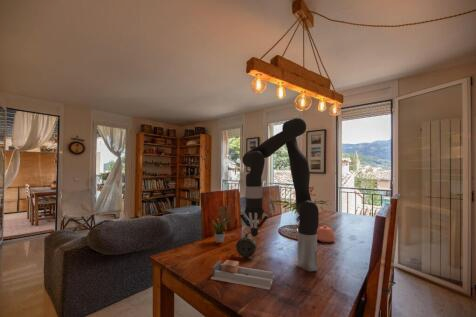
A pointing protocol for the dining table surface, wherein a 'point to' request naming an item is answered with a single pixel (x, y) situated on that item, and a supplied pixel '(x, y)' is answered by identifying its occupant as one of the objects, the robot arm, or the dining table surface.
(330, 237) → the sugar bowl
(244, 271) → the chute
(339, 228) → the dining table surface
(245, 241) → the alarm clock
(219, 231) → the house plant
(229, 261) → the block
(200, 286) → the dining table surface
